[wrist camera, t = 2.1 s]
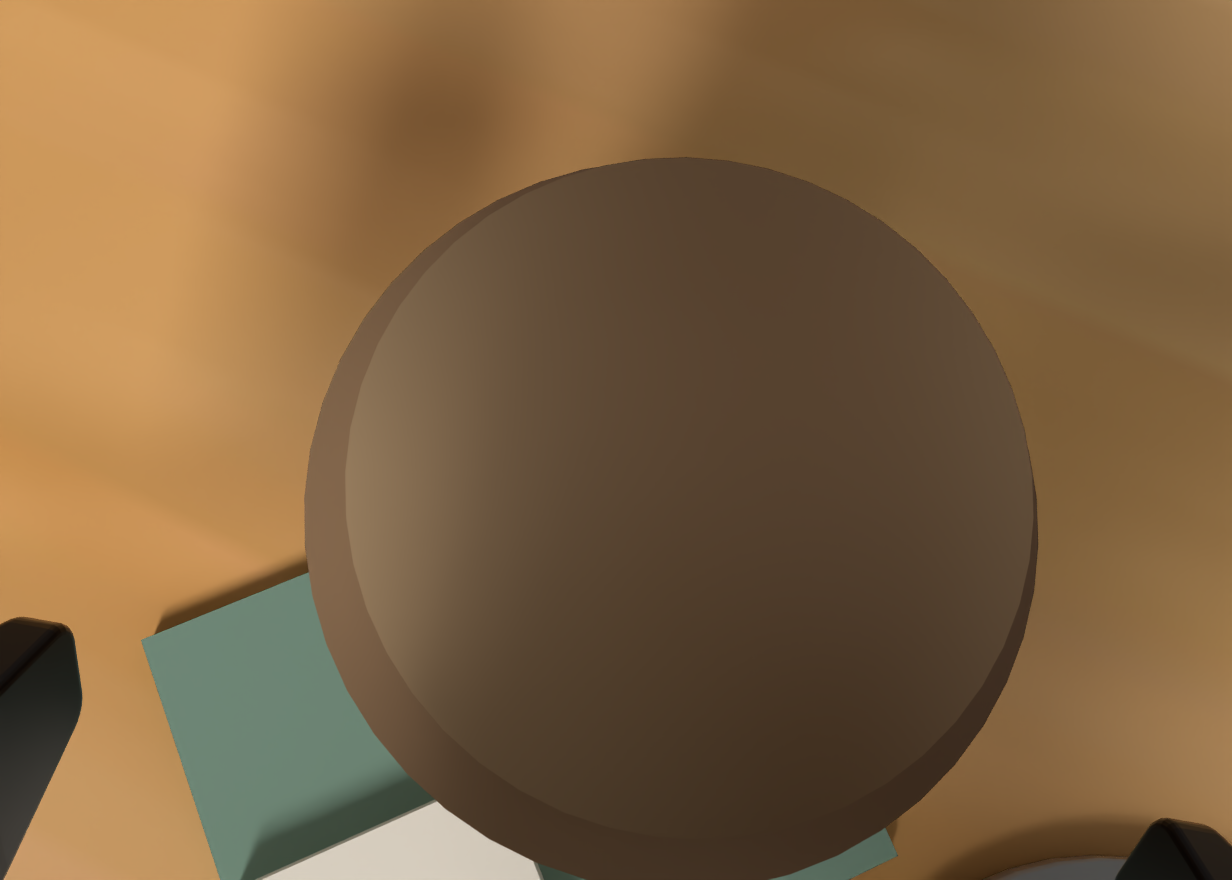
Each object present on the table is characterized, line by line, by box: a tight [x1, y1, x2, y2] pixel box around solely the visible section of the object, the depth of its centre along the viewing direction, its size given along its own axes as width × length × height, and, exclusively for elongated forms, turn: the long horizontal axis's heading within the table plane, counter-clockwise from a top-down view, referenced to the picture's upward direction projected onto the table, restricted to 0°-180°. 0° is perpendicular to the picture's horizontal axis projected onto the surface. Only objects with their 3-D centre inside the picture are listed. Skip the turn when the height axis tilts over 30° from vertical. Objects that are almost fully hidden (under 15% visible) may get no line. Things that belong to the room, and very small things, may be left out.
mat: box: [141, 572, 898, 880], centre depth 17 cm, size 10×8×1 cm
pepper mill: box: [304, 157, 1038, 880], centre depth 12 cm, size 5×5×12 cm
